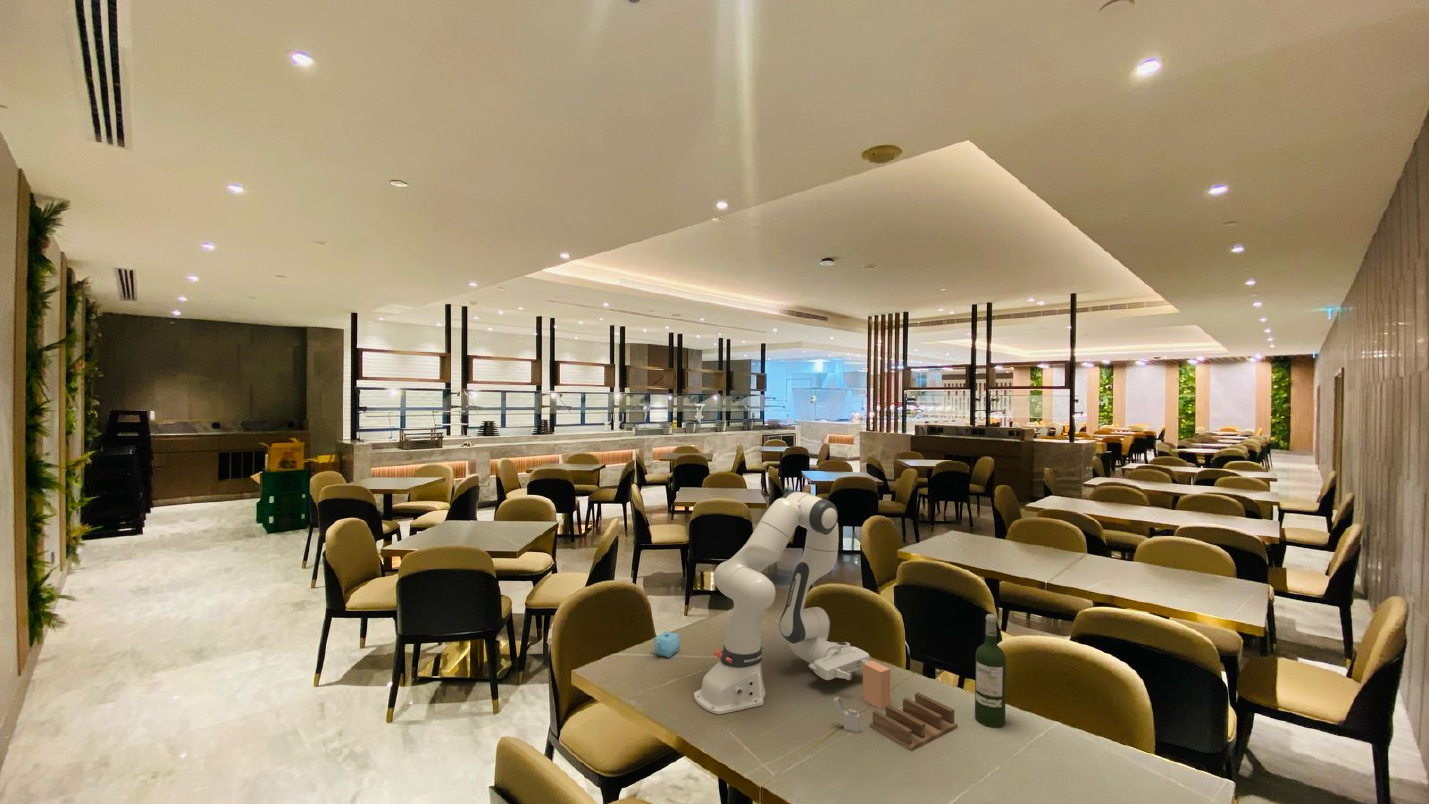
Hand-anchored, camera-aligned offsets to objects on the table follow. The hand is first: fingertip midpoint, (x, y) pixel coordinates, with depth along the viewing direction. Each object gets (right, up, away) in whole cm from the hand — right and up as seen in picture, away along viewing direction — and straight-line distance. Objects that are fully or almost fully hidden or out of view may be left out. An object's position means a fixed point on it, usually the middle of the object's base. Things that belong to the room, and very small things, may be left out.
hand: (861, 673), depth 188 cm
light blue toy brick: (-63, -6, +27) cm, 69 cm away
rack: (+10, -7, -18) cm, 22 cm away
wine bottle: (+33, -7, -15) cm, 37 cm away
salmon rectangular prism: (+3, -7, -5) cm, 9 cm away
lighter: (-9, -7, -19) cm, 22 cm away
